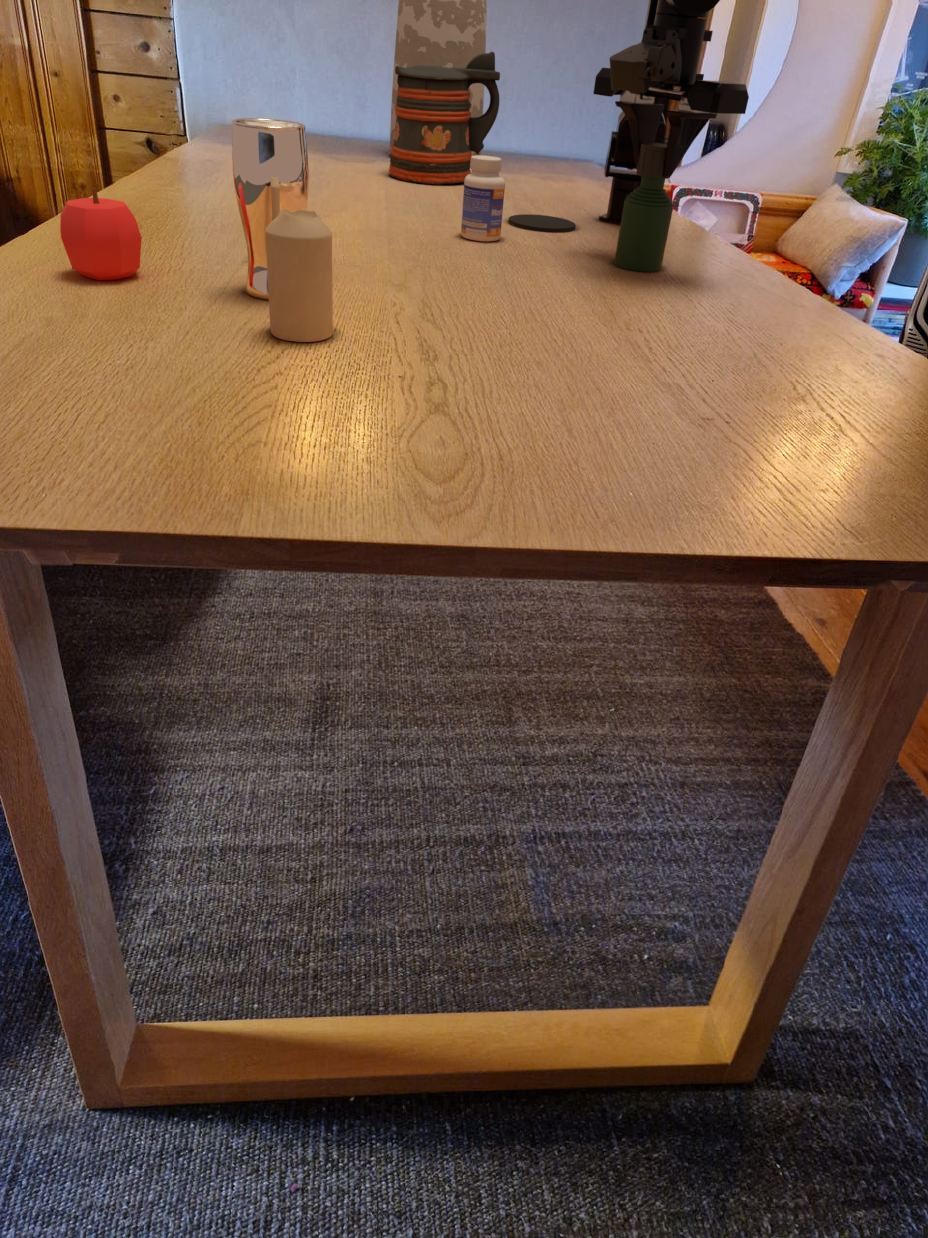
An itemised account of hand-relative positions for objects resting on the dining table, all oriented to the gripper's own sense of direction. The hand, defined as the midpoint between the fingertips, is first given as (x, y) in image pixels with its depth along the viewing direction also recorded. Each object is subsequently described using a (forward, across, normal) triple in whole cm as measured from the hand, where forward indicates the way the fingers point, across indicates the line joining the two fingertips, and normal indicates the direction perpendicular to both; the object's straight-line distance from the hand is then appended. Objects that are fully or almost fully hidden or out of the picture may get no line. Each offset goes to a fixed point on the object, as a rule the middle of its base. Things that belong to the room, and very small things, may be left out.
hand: (653, 173), depth 104 cm
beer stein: (+11, -62, +16) cm, 65 cm away
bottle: (+11, 0, 0) cm, 11 cm away
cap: (0, 0, 0) cm, 0 cm away
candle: (+11, +7, -52) cm, 54 cm away
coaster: (+11, -24, +6) cm, 27 cm away
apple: (+11, -18, -61) cm, 64 cm away
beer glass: (+11, -6, -48) cm, 50 cm away
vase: (+11, -84, +30) cm, 90 cm away
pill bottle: (+11, -20, -10) cm, 25 cm away
